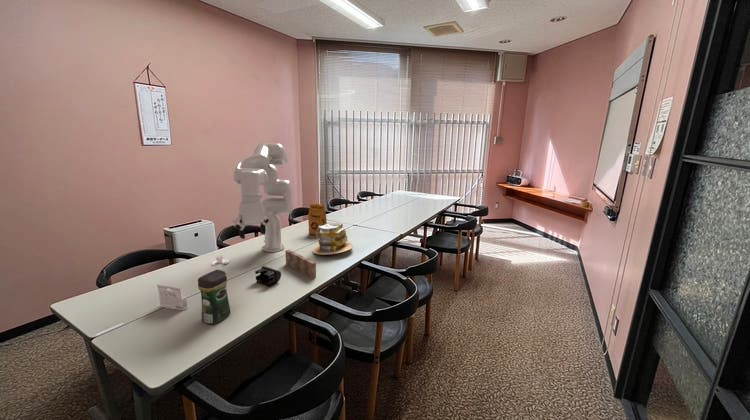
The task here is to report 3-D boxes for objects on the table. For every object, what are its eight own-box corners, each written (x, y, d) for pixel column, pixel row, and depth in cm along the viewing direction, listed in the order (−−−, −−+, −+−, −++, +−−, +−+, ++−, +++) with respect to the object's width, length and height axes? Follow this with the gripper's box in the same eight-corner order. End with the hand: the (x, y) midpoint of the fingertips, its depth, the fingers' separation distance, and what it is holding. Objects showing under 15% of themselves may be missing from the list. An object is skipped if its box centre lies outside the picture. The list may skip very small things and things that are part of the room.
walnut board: (285, 264, 168) (285, 250, 166) (289, 263, 170) (288, 249, 168) (312, 278, 153) (312, 263, 151) (316, 277, 154) (315, 262, 152)
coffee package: (321, 237, 212) (321, 206, 207) (306, 234, 217) (305, 204, 212) (329, 233, 221) (329, 203, 215) (314, 231, 226) (314, 201, 220)
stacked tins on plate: (303, 252, 186) (303, 225, 182) (330, 240, 207) (330, 216, 203) (336, 262, 174) (336, 233, 170) (361, 249, 194) (361, 223, 190)
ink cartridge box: (165, 303, 127) (162, 282, 125) (188, 307, 125) (185, 285, 122) (159, 306, 125) (156, 284, 122) (183, 311, 122) (180, 288, 120)
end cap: (281, 281, 149) (281, 268, 147) (270, 287, 143) (269, 274, 141) (266, 276, 154) (266, 263, 152) (255, 282, 148) (254, 269, 146)
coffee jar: (218, 308, 125) (214, 266, 120) (234, 313, 122) (230, 270, 117) (197, 322, 116) (192, 276, 111) (213, 327, 113) (209, 280, 109)
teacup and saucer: (231, 264, 167) (231, 257, 166) (216, 268, 161) (215, 261, 160) (224, 259, 173) (224, 252, 172) (209, 263, 167) (209, 256, 166)
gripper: (264, 195, 145) (266, 230, 148) (227, 199, 132) (229, 238, 136) (273, 197, 140) (274, 234, 144) (235, 202, 127) (237, 242, 131)
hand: (252, 236), depth 140 cm, fingers open, 9 cm apart
